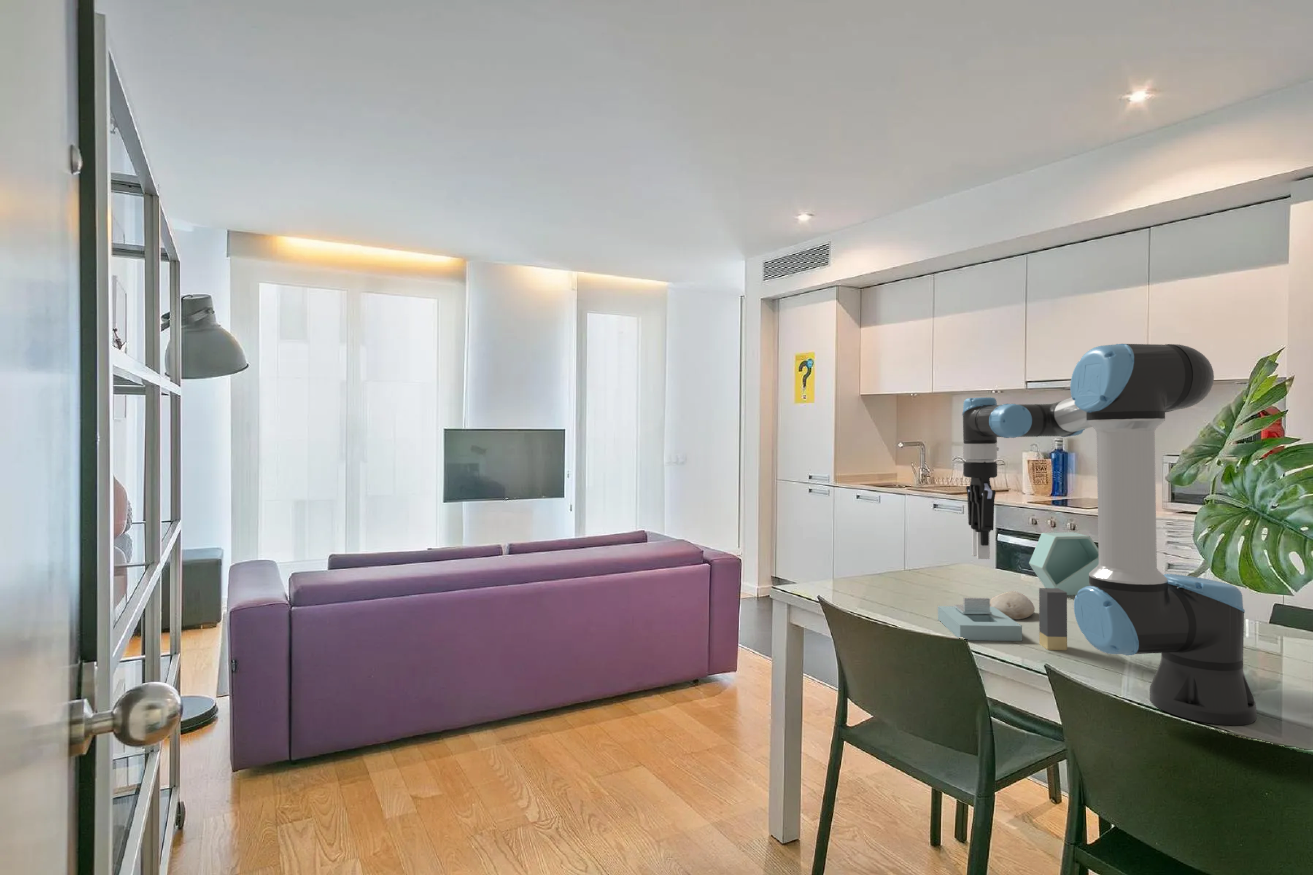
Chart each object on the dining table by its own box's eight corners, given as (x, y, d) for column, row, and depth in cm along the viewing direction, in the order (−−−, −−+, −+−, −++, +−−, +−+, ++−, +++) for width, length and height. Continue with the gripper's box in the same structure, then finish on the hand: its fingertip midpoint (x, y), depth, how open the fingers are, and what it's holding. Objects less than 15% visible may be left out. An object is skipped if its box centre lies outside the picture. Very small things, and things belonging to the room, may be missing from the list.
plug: (1067, 650, 161) (1066, 592, 161) (1047, 649, 162) (1047, 592, 162) (1058, 644, 166) (1058, 588, 165) (1039, 644, 166) (1039, 588, 166)
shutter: (991, 614, 178) (991, 598, 178) (963, 613, 179) (963, 598, 179) (981, 607, 185) (981, 592, 185) (954, 606, 186) (954, 592, 185)
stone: (1007, 637, 187) (1023, 616, 183) (975, 610, 193) (990, 589, 189) (1030, 624, 195) (1046, 603, 191) (999, 598, 201) (1014, 577, 197)
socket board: (1022, 640, 169) (1022, 625, 169) (960, 639, 170) (960, 625, 170) (993, 620, 187) (993, 606, 187) (937, 619, 188) (937, 606, 188)
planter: (1070, 610, 212) (1031, 552, 212) (1056, 604, 220) (1018, 548, 219) (1118, 578, 212) (1079, 520, 211) (1102, 573, 220) (1064, 517, 219)
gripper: (1008, 462, 167) (1009, 563, 167) (984, 459, 183) (985, 551, 183) (975, 462, 168) (976, 563, 168) (953, 459, 183) (954, 551, 184)
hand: (980, 557), depth 176 cm, fingers open, 3 cm apart
